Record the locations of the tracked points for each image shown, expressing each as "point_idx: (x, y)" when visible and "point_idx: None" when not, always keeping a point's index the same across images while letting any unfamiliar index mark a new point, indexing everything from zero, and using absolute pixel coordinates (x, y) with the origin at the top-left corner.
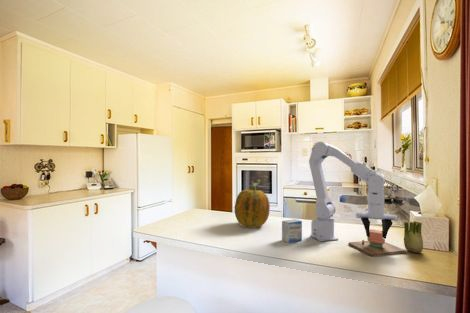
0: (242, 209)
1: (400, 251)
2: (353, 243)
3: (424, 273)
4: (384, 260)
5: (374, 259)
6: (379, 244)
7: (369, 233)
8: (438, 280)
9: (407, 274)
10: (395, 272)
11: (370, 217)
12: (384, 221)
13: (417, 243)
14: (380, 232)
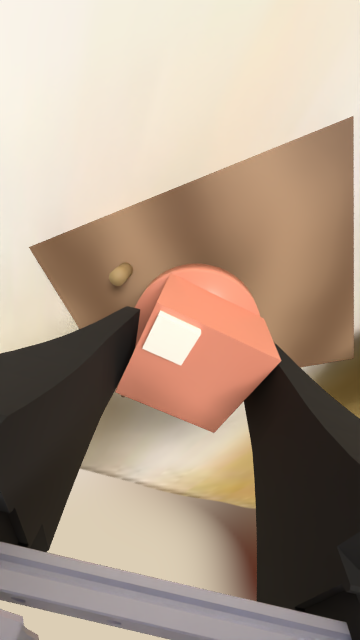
0: None
1: (305, 363)
2: (61, 265)
3: (238, 477)
4: (163, 414)
5: (127, 408)
6: None
7: (121, 375)
8: (243, 499)
9: (180, 477)
10: (152, 469)
11: (35, 605)
12: (287, 591)
13: None
14: (217, 405)
